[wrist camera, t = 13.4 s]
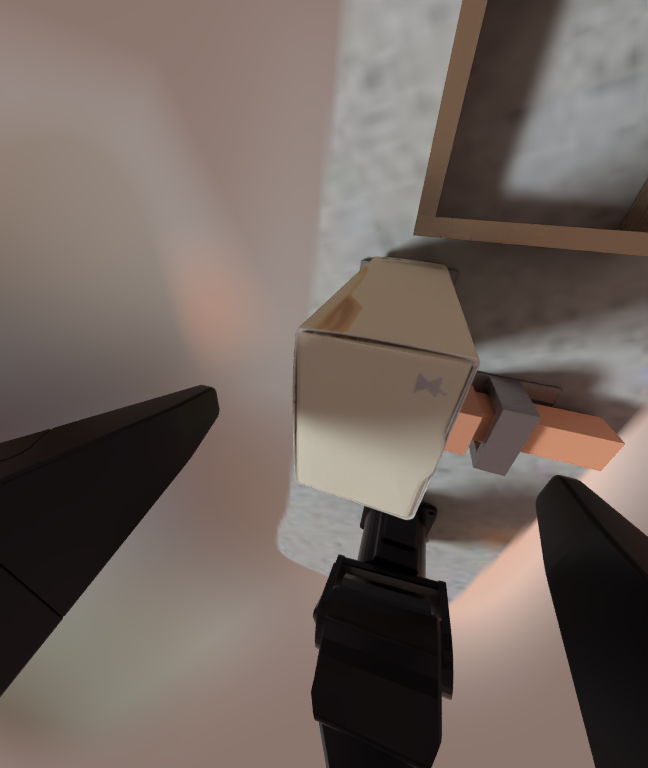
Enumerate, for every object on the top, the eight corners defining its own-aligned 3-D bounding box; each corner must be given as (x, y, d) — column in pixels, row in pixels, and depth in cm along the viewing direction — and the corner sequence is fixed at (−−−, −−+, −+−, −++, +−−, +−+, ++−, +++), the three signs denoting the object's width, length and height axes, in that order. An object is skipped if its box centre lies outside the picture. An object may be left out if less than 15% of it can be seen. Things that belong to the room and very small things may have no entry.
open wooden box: (627, 251, 13) (673, 258, 11) (415, 232, 15) (413, 235, 13) (854, -131, 8) (1048, -289, 5) (480, -75, 10) (497, -168, 8)
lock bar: (578, 448, 18) (607, 492, 15) (441, 416, 20) (444, 450, 17) (606, 412, 17) (644, 454, 14) (454, 381, 19) (459, 412, 16)
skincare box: (372, 254, 16) (289, 310, 6) (449, 263, 15) (494, 345, 5) (358, 352, 20) (288, 487, 10) (419, 364, 19) (413, 529, 9)
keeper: (527, 441, 20) (548, 487, 16) (400, 411, 22) (395, 447, 18) (561, 388, 17) (593, 428, 14) (414, 360, 19) (411, 389, 16)
